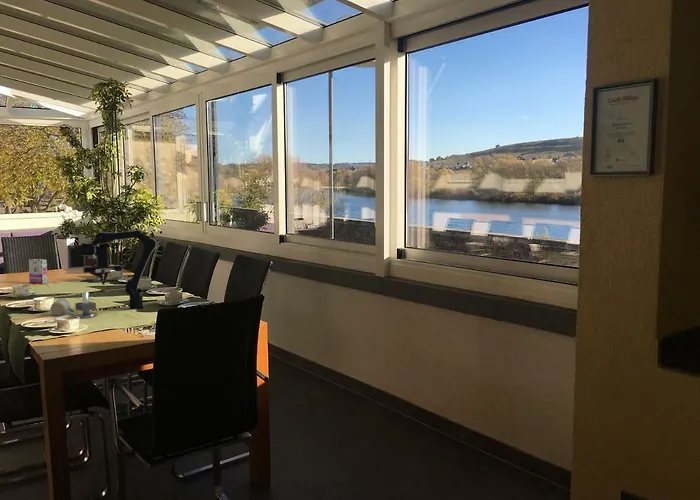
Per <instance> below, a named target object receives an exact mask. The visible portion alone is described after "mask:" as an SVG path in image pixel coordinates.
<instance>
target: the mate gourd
mask: <svg viewBox="0 0 700 500" xmlns="http://www.w3.org/2000/svg"><path fill="white" fill-rule="evenodd" d="M95 259H97V255H96V254H94V255H93V256H87V260H86V261H87V262H86V264H87V265H86V266H92V267H97V266H94V260H95ZM108 264H109V265H110V260H109V259H108ZM104 271H105V270H101V272H102V276H104ZM89 274H90V275H92V276H95V277H96V278H95V279H96V280H101V279H100V277H99V275H98V274H96V271H91V272H89Z"/></svg>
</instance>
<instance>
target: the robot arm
mask: <svg viewBox="0 0 700 500" xmlns="http://www.w3.org/2000/svg"><path fill="white" fill-rule="evenodd" d="M133 238H136V239H138V240H139V242H141V243H142V244H143V248H142V249H143V250H142V255H141V258H140V259H139V262H138V264H137V266H136V269H135V271H134V273H133V275H132V278H128V279H127V280H126V284H125V286H124V287H125V289H124V291H125V292H126V294H127V295H128V296H129V299H128V307H129V309H130V310H134V309H135V310H137V309H144V306H143V305H144V304H143V302H144V301H143V300H144V299H143V293H144V291H143V289H141V288H140V282H141V278H142V276H143V275H144V274H143V273H144V271H145V269H146V267H147V263H148V262H149V259H150V257H151V255H152V253H153V252H154V251H155V249H156V248H157V246H158V241H157V239H156V238H154V237H151V236H149V235H147V234H146V233H144V232H143V231H142V230H140V229H136V230H130V231H129V230H128V231H120V232H119V231H117V232H110V231H100V232H97V233H96V234H95V236H94V240H93V241H92V242H91V243H90V242H89V243H86V242H84V243H83V242H82V243H81V246H80V255H81V257H92V256H93V255H96V256H97V259H95V260H94V266H97V267H92V266H87V265H86V266H85V265H84V266H83V273H89V274H90V272H91V271H96V274H98V275H99V277H100V279H101V282H102V283H101V284H102V286H104V285H105V284H106V282H105V281H106V279H107V277H108V275H109V274H111V272H112V271H115V272H122V271H123V267H122V265H120V264H114V265H113V266H110V263H109V264H108V260H109V248H111V247H113V245H112V244H111V243H109V242H112V241H114V240H126V239H133ZM101 270H105V271H104V275H102V272H101ZM103 279H104V280H103Z"/></svg>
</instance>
